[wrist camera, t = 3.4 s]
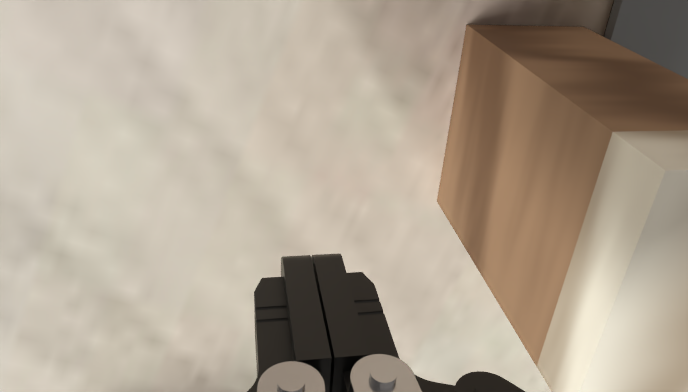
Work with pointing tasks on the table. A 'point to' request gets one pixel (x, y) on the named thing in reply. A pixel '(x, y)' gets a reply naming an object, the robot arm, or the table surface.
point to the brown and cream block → (575, 201)
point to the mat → (652, 31)
